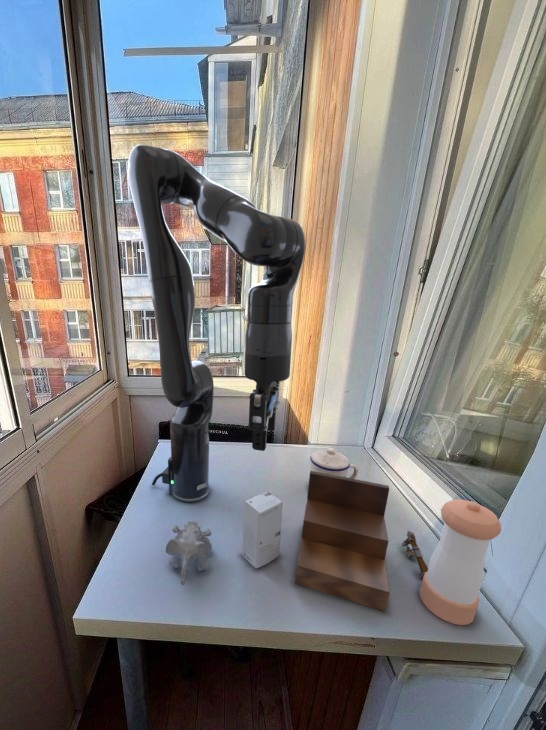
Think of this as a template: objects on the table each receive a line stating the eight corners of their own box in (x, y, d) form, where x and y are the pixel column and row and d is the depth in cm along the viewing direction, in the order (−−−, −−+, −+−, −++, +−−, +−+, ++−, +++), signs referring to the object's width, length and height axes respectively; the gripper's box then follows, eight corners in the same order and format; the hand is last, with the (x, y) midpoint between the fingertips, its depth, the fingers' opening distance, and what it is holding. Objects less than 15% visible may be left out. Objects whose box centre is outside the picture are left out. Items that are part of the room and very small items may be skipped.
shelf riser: (295, 583, 58) (302, 515, 54) (304, 528, 71) (310, 470, 67) (385, 612, 53) (401, 539, 49) (377, 546, 66) (388, 485, 62)
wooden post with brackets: (406, 539, 66) (415, 528, 63) (424, 583, 60) (435, 573, 57) (396, 539, 67) (405, 528, 64) (414, 583, 61) (424, 573, 58)
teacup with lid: (314, 502, 80) (319, 458, 76) (302, 480, 88) (306, 441, 85) (363, 500, 80) (371, 457, 77) (346, 479, 89) (352, 440, 85)
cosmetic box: (256, 570, 60) (259, 514, 57) (240, 554, 64) (242, 501, 60) (280, 556, 64) (284, 502, 60) (263, 541, 67) (267, 490, 64)
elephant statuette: (208, 541, 67) (208, 509, 65) (224, 592, 56) (225, 555, 54) (162, 548, 66) (161, 516, 63) (170, 602, 54) (168, 565, 52)
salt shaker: (431, 577, 59) (455, 483, 53) (481, 609, 53) (515, 507, 47) (411, 598, 55) (434, 499, 49) (463, 634, 49) (496, 527, 44)
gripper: (255, 342, 63) (252, 422, 67) (233, 356, 50) (232, 453, 55) (296, 344, 60) (290, 427, 65) (284, 359, 47) (278, 461, 52)
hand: (264, 439), depth 60 cm, fingers open, 8 cm apart
